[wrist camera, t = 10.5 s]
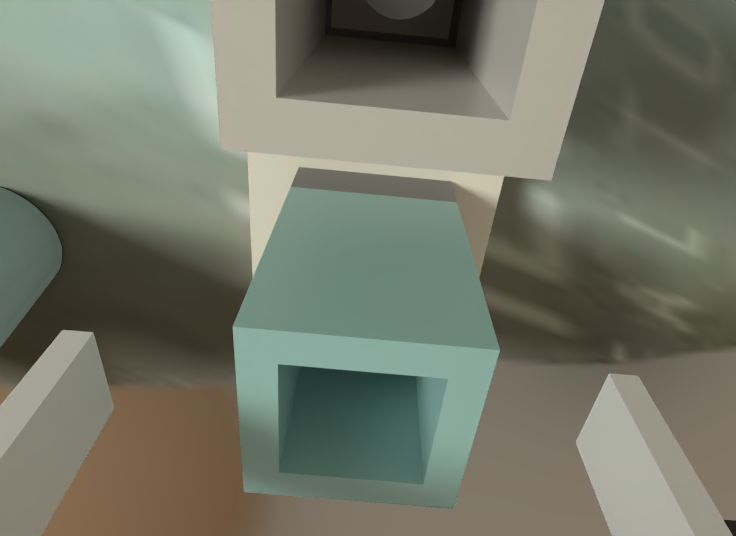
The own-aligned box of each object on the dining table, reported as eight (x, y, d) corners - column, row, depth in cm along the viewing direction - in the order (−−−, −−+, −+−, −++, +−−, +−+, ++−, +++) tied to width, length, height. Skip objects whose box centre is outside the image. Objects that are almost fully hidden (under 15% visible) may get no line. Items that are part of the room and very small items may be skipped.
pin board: (246, -187, 15) (146, -288, 9) (569, -152, 16) (697, -227, 9) (260, 278, 24) (215, 393, 18) (465, 297, 24) (493, 416, 18)
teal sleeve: (298, 166, 20) (232, 326, 11) (451, 181, 20) (499, 349, 11) (296, 292, 23) (244, 491, 14) (428, 304, 23) (452, 508, 14)
